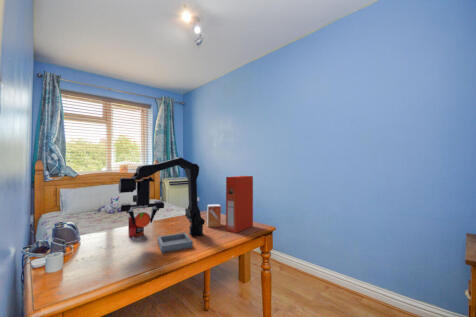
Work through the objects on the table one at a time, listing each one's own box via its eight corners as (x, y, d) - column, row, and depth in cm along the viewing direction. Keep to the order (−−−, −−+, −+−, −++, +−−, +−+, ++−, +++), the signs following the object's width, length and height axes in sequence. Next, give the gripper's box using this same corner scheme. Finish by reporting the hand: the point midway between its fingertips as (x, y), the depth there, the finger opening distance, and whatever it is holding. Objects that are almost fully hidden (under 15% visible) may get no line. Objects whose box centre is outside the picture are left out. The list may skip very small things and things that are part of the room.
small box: (207, 227, 133) (208, 206, 133) (207, 224, 139) (207, 204, 139) (220, 226, 134) (221, 205, 135) (219, 223, 141) (219, 203, 141)
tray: (185, 238, 113) (185, 232, 113) (192, 247, 101) (192, 241, 101) (157, 242, 107) (157, 236, 107) (161, 253, 94) (161, 246, 94)
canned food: (137, 237, 113) (138, 217, 113) (124, 236, 114) (125, 216, 115) (146, 233, 120) (147, 213, 121) (134, 232, 122) (134, 213, 122)
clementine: (148, 229, 98) (148, 214, 99) (132, 230, 97) (132, 214, 97) (151, 224, 106) (151, 210, 106) (136, 225, 105) (137, 210, 105)
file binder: (225, 230, 126) (226, 176, 127) (242, 224, 140) (243, 175, 141) (236, 233, 121) (236, 177, 122) (252, 226, 135) (253, 176, 136)
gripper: (161, 188, 113) (160, 217, 113) (121, 190, 105) (120, 222, 104) (164, 191, 104) (164, 223, 103) (121, 193, 95) (120, 228, 95)
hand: (142, 224), depth 102 cm, fingers closed on clementine, 7 cm apart
